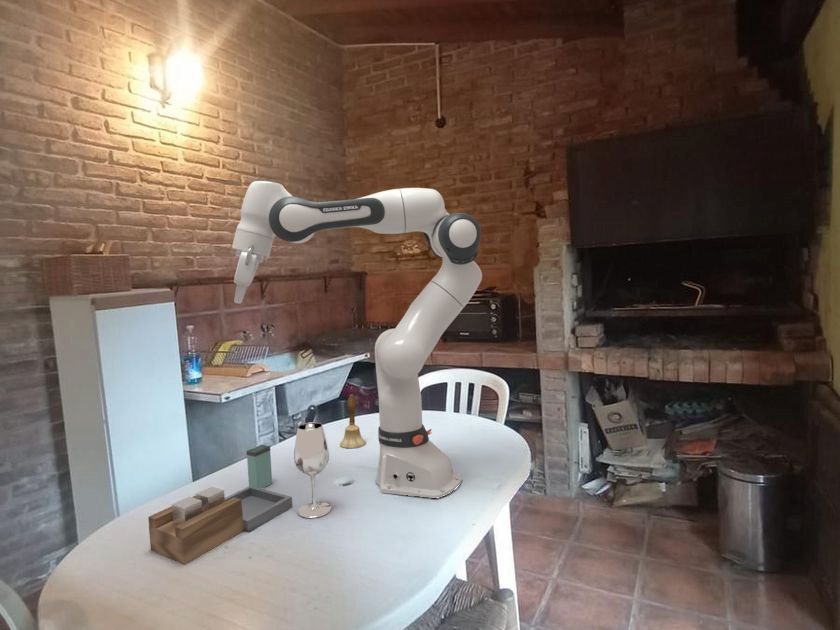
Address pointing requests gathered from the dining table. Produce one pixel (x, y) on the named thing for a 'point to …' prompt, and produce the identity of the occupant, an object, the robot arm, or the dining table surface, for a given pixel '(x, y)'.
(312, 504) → the wineglass
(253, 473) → the green grey block
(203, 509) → the steel block
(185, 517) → the steel block
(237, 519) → the groove board
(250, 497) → the tray
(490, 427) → the dining table surface
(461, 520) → the dining table surface
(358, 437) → the hand bell
